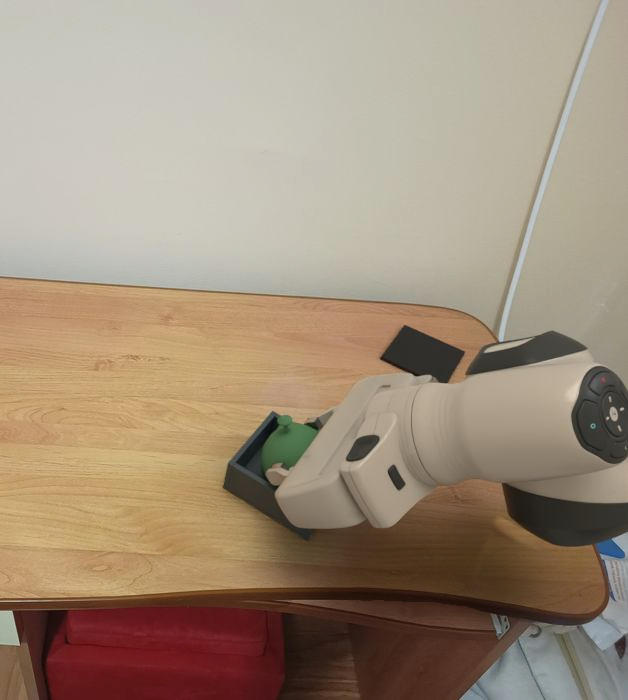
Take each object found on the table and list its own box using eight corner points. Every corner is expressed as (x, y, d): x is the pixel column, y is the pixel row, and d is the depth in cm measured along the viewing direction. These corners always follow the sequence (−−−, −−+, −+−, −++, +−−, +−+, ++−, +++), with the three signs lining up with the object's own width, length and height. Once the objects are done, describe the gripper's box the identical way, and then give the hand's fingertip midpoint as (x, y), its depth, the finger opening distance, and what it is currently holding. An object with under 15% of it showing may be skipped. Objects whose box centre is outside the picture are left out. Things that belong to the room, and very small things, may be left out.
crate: (347, 481, 71) (357, 457, 68) (308, 541, 65) (318, 518, 62) (265, 435, 76) (272, 410, 73) (222, 487, 70) (227, 462, 67)
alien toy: (325, 469, 72) (348, 409, 65) (308, 520, 66) (332, 462, 60) (267, 446, 74) (284, 386, 67) (246, 495, 68) (262, 435, 62)
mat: (464, 354, 89) (465, 351, 88) (443, 389, 83) (444, 386, 83) (403, 327, 92) (404, 324, 92) (380, 359, 87) (381, 356, 87)
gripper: (431, 347, 62) (319, 372, 72) (345, 481, 49) (225, 488, 60) (459, 399, 63) (344, 417, 74) (382, 543, 50) (257, 539, 61)
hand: (290, 449), depth 67 cm, fingers closed on alien toy, 7 cm apart
